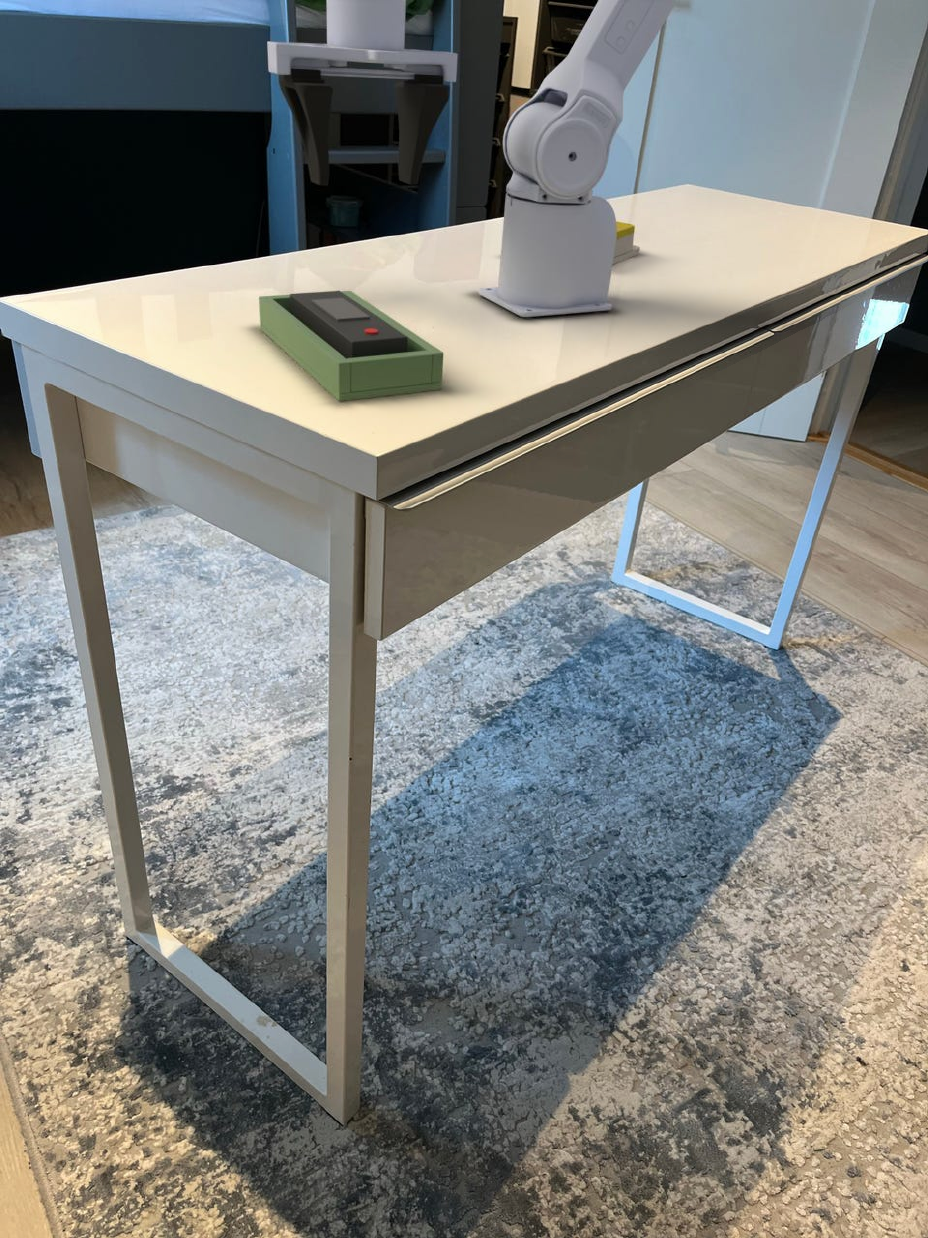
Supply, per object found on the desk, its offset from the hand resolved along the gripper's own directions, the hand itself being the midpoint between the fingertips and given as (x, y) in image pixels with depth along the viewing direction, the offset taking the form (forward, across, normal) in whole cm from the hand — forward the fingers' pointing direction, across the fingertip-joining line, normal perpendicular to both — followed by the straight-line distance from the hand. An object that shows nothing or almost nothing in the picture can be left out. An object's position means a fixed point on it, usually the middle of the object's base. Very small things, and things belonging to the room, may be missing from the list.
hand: (364, 182), depth 74 cm
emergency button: (+10, +30, +12) cm, 34 cm away
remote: (+9, -7, -13) cm, 17 cm away
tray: (+9, -7, -13) cm, 18 cm away
